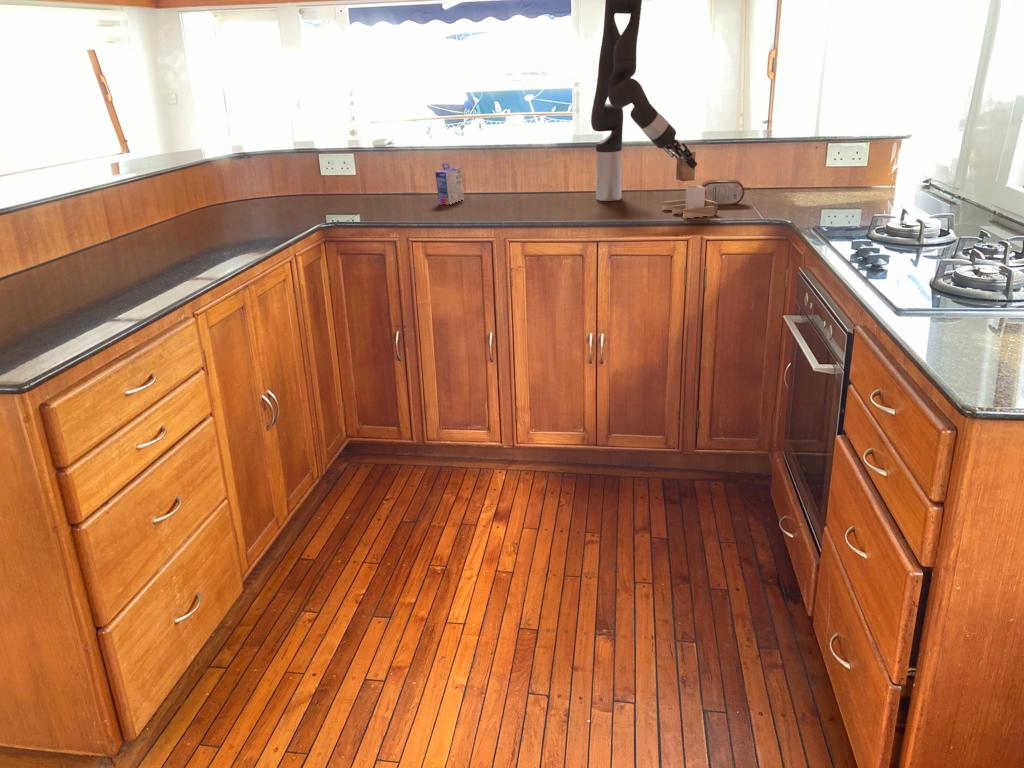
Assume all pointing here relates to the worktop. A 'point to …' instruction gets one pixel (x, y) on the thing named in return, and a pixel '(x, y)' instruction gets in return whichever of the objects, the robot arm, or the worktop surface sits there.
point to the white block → (695, 197)
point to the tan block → (684, 169)
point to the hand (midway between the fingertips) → (690, 165)
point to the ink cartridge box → (449, 185)
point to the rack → (680, 207)
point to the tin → (724, 191)
